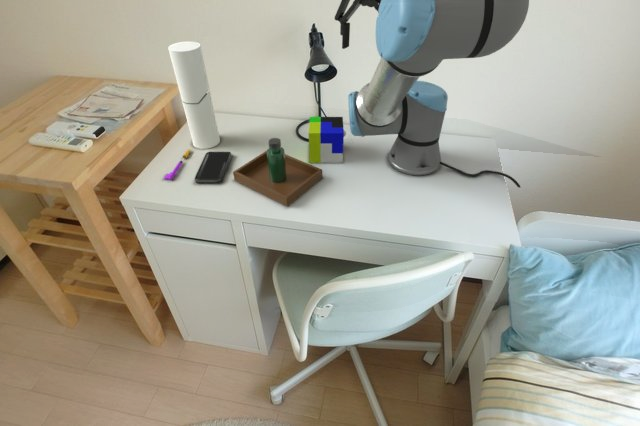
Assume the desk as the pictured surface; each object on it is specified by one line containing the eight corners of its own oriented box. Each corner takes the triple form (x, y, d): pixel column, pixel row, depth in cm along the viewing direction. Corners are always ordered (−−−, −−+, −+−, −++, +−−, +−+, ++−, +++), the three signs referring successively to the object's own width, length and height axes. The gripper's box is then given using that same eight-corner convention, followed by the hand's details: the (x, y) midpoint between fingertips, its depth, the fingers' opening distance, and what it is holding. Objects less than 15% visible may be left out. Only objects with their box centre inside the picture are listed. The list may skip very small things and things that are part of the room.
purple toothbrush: (172, 180, 107) (192, 150, 119) (170, 177, 106) (190, 147, 119) (164, 181, 108) (184, 152, 120) (162, 178, 107) (182, 149, 119)
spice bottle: (290, 176, 108) (287, 139, 100) (278, 185, 105) (275, 147, 97) (277, 171, 110) (273, 134, 102) (266, 179, 107) (261, 142, 99)
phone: (193, 180, 106) (206, 151, 117) (194, 183, 106) (207, 154, 118) (221, 180, 105) (232, 151, 117) (222, 183, 106) (232, 154, 117)
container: (223, 135, 127) (204, 41, 107) (215, 149, 120) (193, 51, 100) (198, 134, 127) (175, 41, 107) (189, 148, 121) (162, 51, 101)
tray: (322, 178, 108) (322, 169, 106) (287, 207, 98) (286, 197, 96) (271, 156, 117) (270, 147, 115) (234, 180, 107) (232, 171, 105)
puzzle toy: (342, 162, 114) (343, 133, 107) (309, 162, 114) (308, 133, 107) (341, 145, 121) (342, 116, 115) (310, 145, 122) (309, 116, 115)
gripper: (423, -33, 92) (410, 56, 106) (338, -42, 103) (336, 40, 117) (410, -29, 87) (398, 64, 101) (322, -38, 99) (322, 47, 112)
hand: (365, 51), depth 109 cm, fingers open, 13 cm apart
